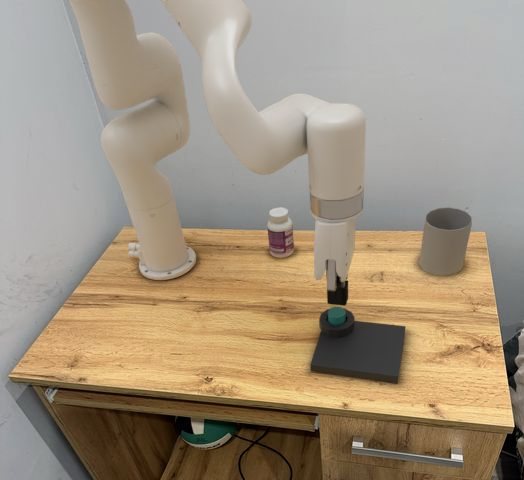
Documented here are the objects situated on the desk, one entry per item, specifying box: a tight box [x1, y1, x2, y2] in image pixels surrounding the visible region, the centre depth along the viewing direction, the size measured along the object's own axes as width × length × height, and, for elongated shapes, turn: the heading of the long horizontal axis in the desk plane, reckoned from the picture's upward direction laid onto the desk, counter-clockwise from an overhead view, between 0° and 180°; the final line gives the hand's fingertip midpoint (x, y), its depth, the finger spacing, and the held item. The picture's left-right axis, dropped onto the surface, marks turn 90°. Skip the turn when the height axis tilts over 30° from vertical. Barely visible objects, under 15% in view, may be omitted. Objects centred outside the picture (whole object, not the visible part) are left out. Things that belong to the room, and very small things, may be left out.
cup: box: [418, 207, 473, 277], centre depth 96 cm, size 8×8×10 cm
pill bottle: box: [266, 206, 295, 259], centre depth 106 cm, size 5×5×10 cm
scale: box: [309, 307, 407, 384], centre depth 84 cm, size 14×13×4 cm
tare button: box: [328, 306, 346, 325], centre depth 86 cm, size 3×3×2 cm
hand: (337, 301), depth 83 cm, fingers closed
